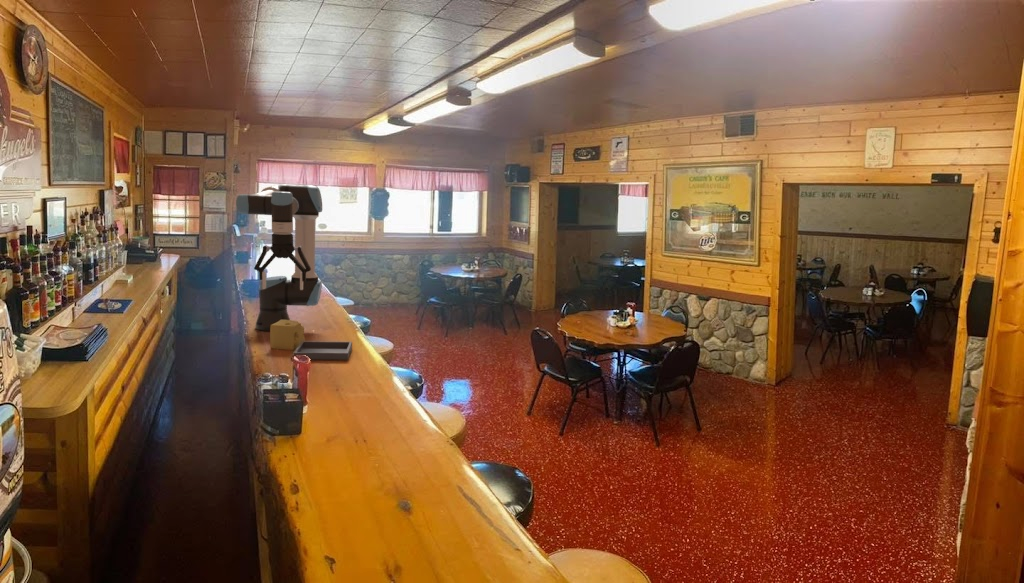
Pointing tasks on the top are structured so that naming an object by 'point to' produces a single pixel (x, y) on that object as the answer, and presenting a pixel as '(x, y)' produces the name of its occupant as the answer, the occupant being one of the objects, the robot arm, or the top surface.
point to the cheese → (286, 334)
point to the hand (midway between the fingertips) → (283, 289)
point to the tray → (324, 350)
